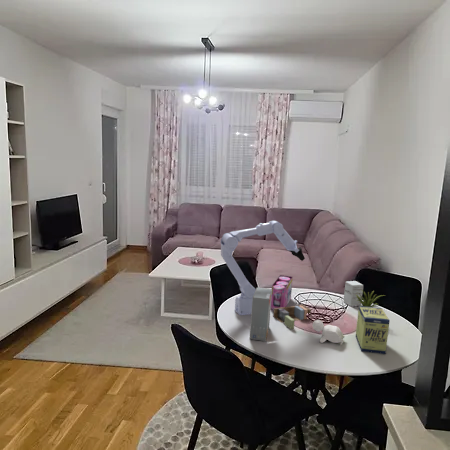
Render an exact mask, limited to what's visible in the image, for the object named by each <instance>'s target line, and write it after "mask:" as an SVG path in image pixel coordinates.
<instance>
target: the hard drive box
mask: <svg viewBox="0 0 450 450" xmlns="http://www.w3.org/2000/svg"><path fill="white" fill-rule="evenodd" d="M255 289H256V291H255V293H254V296H253V300H252V313H251V314H250V315H251V316H250V325H249V326H250V328H249V340H253V341H254V340H255V341H256V340H257V341H262V342H266V341H267V337H268V333H269V329H270V323H271V322H270V320H271V310H272V309H271V297H272V288H268V287H267V288H264V287H258V286H257V287H256V288H255Z"/></svg>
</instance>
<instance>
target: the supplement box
mask: <svg viewBox="0 0 450 450" xmlns="http://www.w3.org/2000/svg"><path fill="white" fill-rule="evenodd" d="M362 290H363V291H364V284H362V283H360V282H359V281H358V280H357V281H356V280H353V281H352V280H350V281H349V280H348V281H345V285H344V291H343V293H344V295H343V300H342V301H343V303H345V304H346V305H348V306H349V307H359V306H360V305H362V304H361V303H359V302H360V301H356V300H359V299H358V298H357V296H356V295H358V296H359V297H360V295H361V296H362V297H363V294H364V293H363V291H362ZM357 292H358V293H359V294H360V295H359V294H358V293H357ZM360 298H361V297H360ZM361 300H362V301H363V299H362V298H361Z"/></svg>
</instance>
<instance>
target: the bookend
mask: <svg viewBox="0 0 450 450" xmlns="http://www.w3.org/2000/svg"><path fill="white" fill-rule="evenodd" d="M287 315H288V316H289V312H288V311H286V310H285V309H283V308H282V309H278V318H279V319H280V320H282V321H283V323H284V322H285V316H287Z"/></svg>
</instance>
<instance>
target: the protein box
mask: <svg viewBox="0 0 450 450" xmlns="http://www.w3.org/2000/svg"><path fill="white" fill-rule="evenodd" d="M357 311H358V312H357V313H358V314H357V321H356V327H355V328H356V329H355V338H356V339H355V340H356V341H357V344H358V347H359V350H360V352H365V353H372V354H373V353H374V354H383V355H386V351H387V344H388V337H389V329H390V319H389V318H388V316H387V314H386V313H385V310H384V309H383V308H381V307H366V306H358V310H357Z"/></svg>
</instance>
